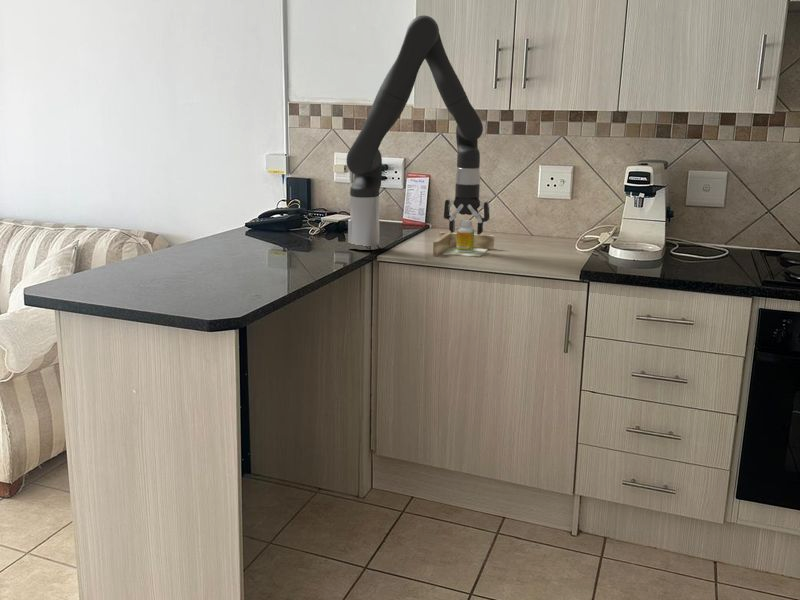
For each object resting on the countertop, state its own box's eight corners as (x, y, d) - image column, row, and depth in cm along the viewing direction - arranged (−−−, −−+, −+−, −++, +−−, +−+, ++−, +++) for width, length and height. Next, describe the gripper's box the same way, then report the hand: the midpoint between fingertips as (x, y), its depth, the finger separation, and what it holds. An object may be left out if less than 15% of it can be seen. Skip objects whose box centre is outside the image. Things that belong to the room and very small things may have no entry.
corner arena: (426, 255, 248) (426, 241, 247) (440, 245, 264) (440, 231, 263) (482, 259, 243) (483, 245, 242) (493, 248, 259) (494, 235, 257)
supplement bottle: (472, 253, 250) (473, 222, 248) (455, 252, 251) (456, 222, 249) (474, 249, 255) (475, 220, 253) (457, 249, 256) (458, 219, 254)
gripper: (442, 182, 246) (441, 234, 250) (487, 184, 242) (485, 237, 246) (448, 179, 253) (447, 230, 257) (492, 181, 249) (490, 232, 253)
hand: (465, 233), depth 252 cm, fingers open, 8 cm apart
